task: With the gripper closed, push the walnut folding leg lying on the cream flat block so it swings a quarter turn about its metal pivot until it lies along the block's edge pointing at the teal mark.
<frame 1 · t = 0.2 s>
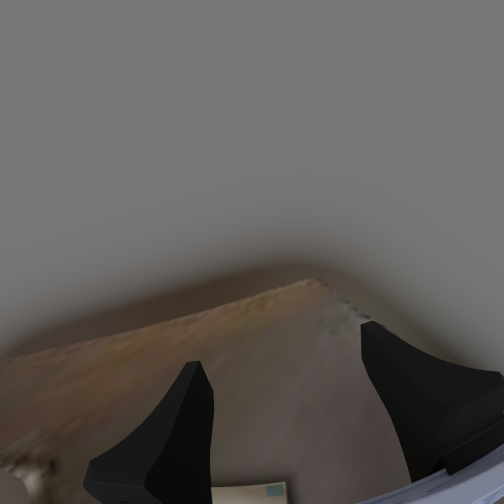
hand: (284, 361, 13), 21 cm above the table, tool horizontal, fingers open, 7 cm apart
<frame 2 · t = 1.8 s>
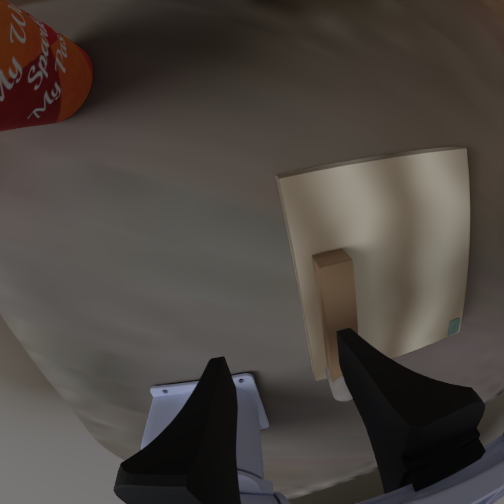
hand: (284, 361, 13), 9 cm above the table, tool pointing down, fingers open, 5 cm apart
coffee cup: (60, 83, 16), on the table
folding leg: (341, 334, 19), point 4 cm above the table, hinge at 90.0°
cream flat block: (385, 262, 22), on the table
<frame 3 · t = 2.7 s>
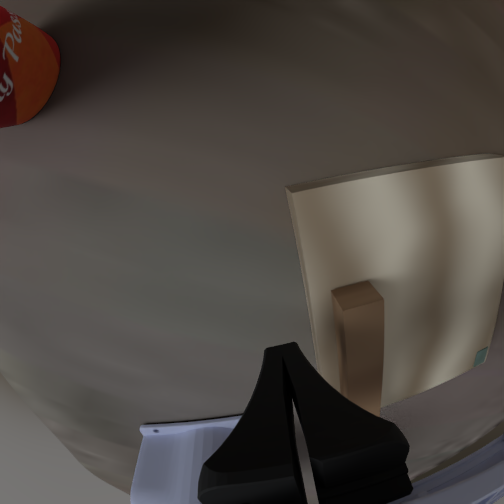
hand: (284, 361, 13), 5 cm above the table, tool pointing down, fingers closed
coffee cup: (25, 77, 12), on the table
folding leg: (361, 380, 15), point 4 cm above the table, hinge at 90.0°
cream flat block: (413, 291, 17), on the table
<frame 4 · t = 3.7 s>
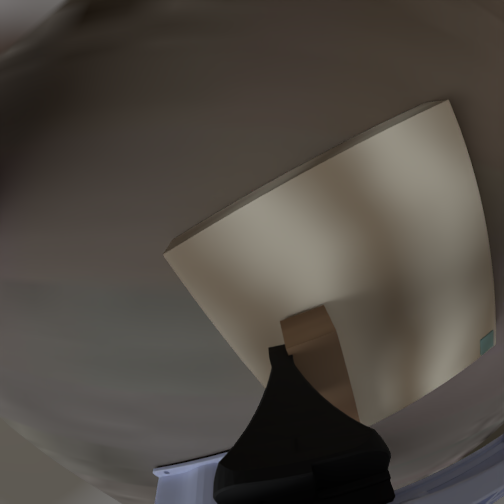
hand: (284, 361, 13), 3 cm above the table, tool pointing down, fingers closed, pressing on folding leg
folding leg: (335, 410, 13), point 4 cm above the table, hinge at 80.9°, touching gripper
cream flat block: (373, 299, 15), on the table
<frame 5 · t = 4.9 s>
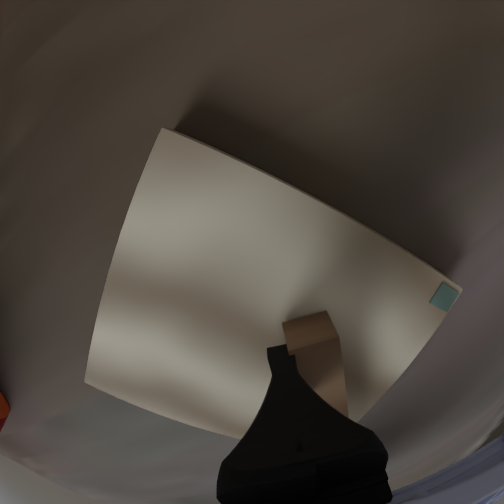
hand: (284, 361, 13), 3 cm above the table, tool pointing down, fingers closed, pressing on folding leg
folding leg: (326, 416, 14), point 4 cm above the table, hinge at 41.4°, touching gripper
cream flat block: (265, 328, 16), on the table
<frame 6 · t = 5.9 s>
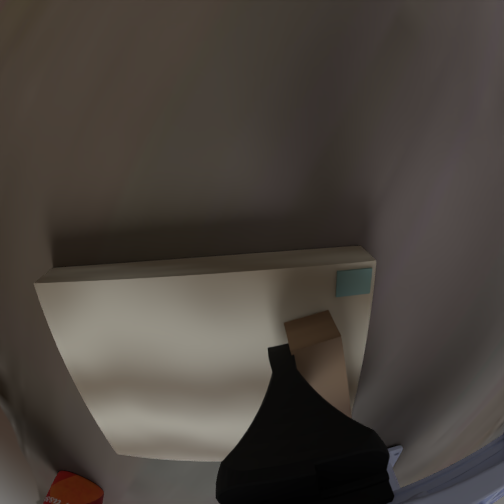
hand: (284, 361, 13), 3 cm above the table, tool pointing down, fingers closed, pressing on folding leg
coffee cup: (80, 482, 23), on the table
folding leg: (329, 415, 14), point 4 cm above the table, hinge at 12.2°, touching gripper
cream flat block: (211, 372, 17), on the table
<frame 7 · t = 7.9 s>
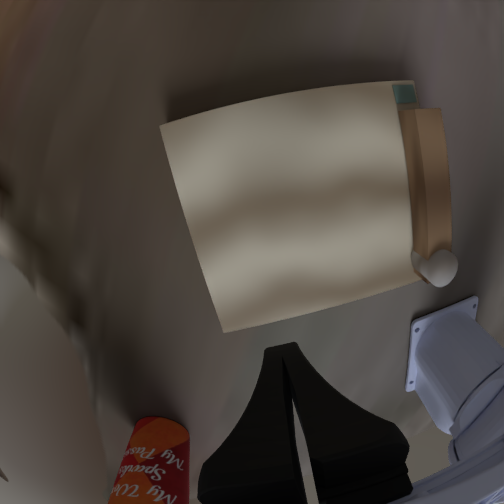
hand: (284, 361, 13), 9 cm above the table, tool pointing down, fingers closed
coffee cup: (162, 431, 28), on the table
folding leg: (432, 198, 16), point 4 cm above the table, hinge at -0.5°
cream flat block: (314, 200, 20), on the table
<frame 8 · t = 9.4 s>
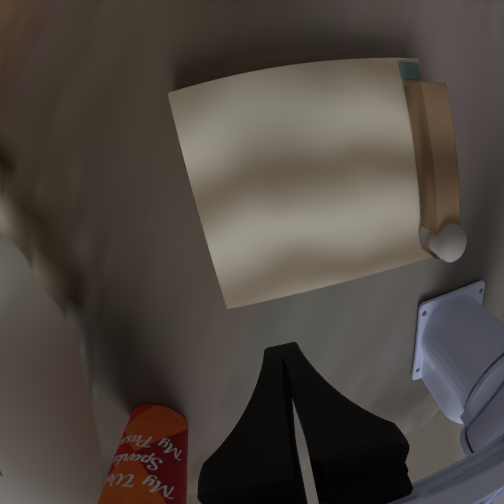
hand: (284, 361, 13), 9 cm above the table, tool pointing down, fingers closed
coffee cup: (159, 420, 27), on the table
folding leg: (440, 172, 16), point 3 cm above the table, hinge at -0.5°
cream flat block: (321, 173, 19), on the table
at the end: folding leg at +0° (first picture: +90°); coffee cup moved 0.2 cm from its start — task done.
